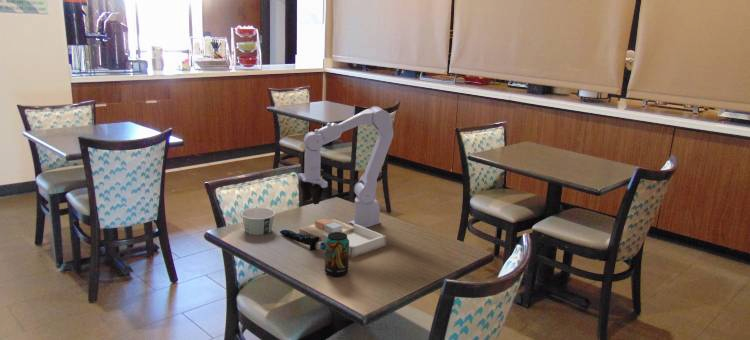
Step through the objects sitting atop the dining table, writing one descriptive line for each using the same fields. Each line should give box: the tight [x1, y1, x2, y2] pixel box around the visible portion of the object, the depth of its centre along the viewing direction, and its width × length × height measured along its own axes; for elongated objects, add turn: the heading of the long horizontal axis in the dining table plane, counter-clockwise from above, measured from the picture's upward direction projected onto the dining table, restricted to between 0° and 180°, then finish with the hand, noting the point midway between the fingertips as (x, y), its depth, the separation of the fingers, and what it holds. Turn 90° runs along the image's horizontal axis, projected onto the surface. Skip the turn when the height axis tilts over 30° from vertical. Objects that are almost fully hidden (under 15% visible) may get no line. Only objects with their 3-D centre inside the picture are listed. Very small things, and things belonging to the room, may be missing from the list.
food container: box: [240, 207, 276, 236], centre depth 201 cm, size 12×12×6 cm
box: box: [321, 224, 387, 258], centre depth 192 cm, size 16×15×4 cm
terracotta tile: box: [314, 217, 333, 230], centre depth 202 cm, size 4×4×2 cm
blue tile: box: [324, 222, 342, 233], centre depth 199 cm, size 4×4×2 cm
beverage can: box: [324, 232, 350, 278], centre depth 169 cm, size 7×7×12 cm
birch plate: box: [298, 218, 354, 242], centre depth 201 cm, size 16×12×2 cm
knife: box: [279, 229, 326, 251], centre depth 188 cm, size 31×3×4 cm, turn 43°
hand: (311, 202), depth 205 cm, fingers open, 4 cm apart
